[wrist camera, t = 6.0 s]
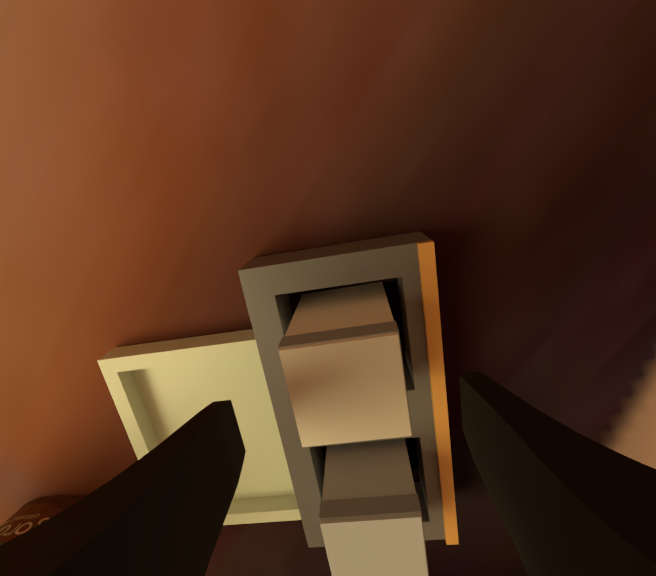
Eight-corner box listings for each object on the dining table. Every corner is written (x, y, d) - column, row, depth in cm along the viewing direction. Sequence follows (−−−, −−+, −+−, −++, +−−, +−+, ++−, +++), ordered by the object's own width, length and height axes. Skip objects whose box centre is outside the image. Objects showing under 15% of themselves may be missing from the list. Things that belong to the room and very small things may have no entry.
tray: (323, 496, 21) (322, 518, 20) (177, 508, 22) (166, 529, 21) (285, 324, 18) (280, 336, 16) (115, 347, 19) (97, 360, 17)
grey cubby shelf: (444, 496, 20) (458, 544, 18) (313, 506, 21) (307, 553, 19) (419, 231, 16) (434, 241, 13) (253, 257, 17) (235, 272, 14)
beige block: (408, 472, 20) (430, 588, 14) (338, 478, 21) (334, 593, 15) (400, 414, 19) (422, 515, 13) (327, 421, 19) (318, 523, 14)
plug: (382, 280, 17) (399, 332, 11) (393, 354, 18) (413, 437, 12) (301, 293, 17) (276, 349, 11) (316, 364, 18) (301, 448, 13)
